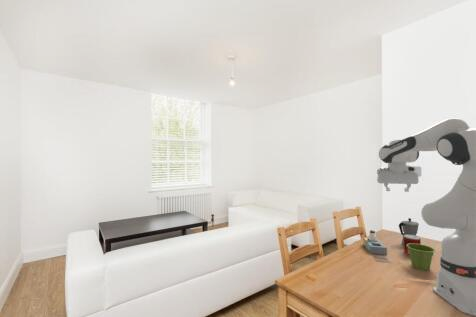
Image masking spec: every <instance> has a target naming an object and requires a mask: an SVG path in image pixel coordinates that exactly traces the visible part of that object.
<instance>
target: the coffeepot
mask: <svg viewBox="0 0 476 317" xmlns="http://www.w3.org/2000/svg"><path fill="white" fill-rule="evenodd" d="M419 225H420V224H419V222H416V221H412V218H409V217H408V220H402V221H400V223H399V224H398V227H399V230H400V231H399V232H400V235H402V240H401V244H402V245H403V246H404V235H415V236H417V234H418V229H419Z"/></svg>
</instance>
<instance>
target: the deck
mask: <svg viewBox="0 0 476 317" xmlns="http://www.w3.org/2000/svg"><path fill="white" fill-rule="evenodd" d="M370 254H371V257H372V258H373V259H374V260H375V262H378V263H387V264H391V261H390V260H389V259H388V258H387V257H386V256H385V254H374V253H370Z"/></svg>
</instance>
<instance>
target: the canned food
mask: <svg viewBox="0 0 476 317" xmlns="http://www.w3.org/2000/svg"><path fill="white" fill-rule="evenodd" d="M421 242H422V241H421V237H420V236H418V235H416V236H415V235H404V245H403V252H404V253H405V254H407V255H409V256H410V253H409V250H408V247H407V244H410V243H414V244H421ZM421 245H422V244H421Z"/></svg>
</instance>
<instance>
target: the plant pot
mask: <svg viewBox="0 0 476 317" xmlns="http://www.w3.org/2000/svg"><path fill="white" fill-rule="evenodd" d="M407 247H408V250H409V253H410V255H409V258H410V262H411V266H412V267H414V268H416V269H418V270H421V271H429V270H431V265H432V259H433V256H434V253H435V252H436V249H435V248H434V247H431V246H428V245H426V244H414V243H410V244H407Z"/></svg>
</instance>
